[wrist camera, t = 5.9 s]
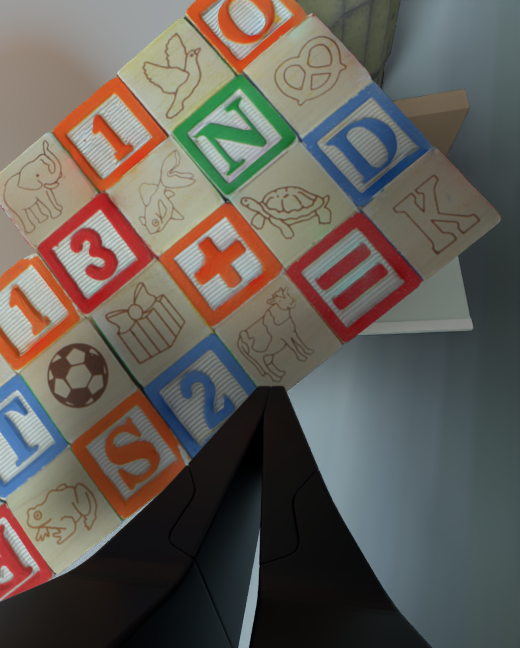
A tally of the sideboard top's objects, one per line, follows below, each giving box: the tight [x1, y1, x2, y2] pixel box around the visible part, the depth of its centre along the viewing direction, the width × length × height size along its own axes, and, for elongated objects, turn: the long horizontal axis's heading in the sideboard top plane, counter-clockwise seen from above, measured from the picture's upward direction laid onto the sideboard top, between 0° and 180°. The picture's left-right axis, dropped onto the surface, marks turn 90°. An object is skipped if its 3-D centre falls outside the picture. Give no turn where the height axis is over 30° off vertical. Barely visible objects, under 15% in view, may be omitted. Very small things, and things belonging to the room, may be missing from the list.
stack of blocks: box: [0, 0, 502, 601], centre depth 13 cm, size 21×6×12 cm
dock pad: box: [358, 89, 473, 335], centre depth 16 cm, size 11×14×4 cm
